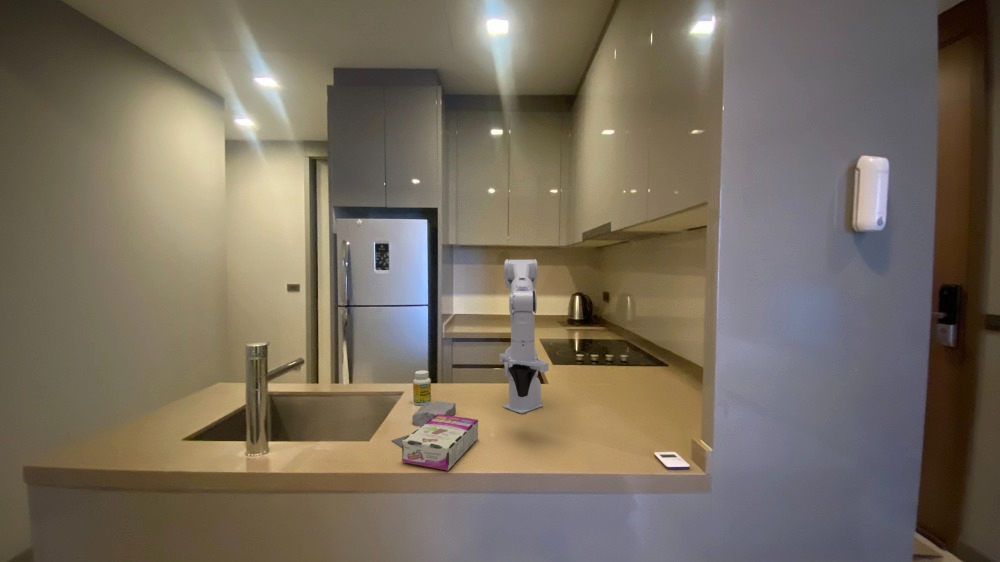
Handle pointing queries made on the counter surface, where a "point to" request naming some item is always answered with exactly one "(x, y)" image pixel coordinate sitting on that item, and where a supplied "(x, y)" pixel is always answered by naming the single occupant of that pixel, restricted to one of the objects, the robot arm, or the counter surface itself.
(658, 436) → the counter surface
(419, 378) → the supplement bottle
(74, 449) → the counter surface
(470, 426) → the candy bar box
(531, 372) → the robot arm
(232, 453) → the counter surface
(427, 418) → the stone block
